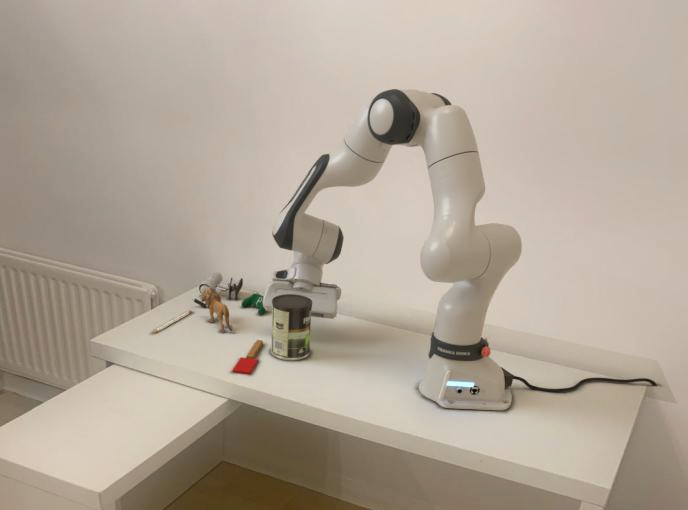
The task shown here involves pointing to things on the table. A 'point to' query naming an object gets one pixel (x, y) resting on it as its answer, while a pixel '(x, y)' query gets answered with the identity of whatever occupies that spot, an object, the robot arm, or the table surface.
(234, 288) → the clip-on lamp
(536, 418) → the table surface
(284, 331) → the coffee can
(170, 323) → the pencil
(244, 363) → the spatula
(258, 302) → the gaming controller
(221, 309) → the lion figurine
